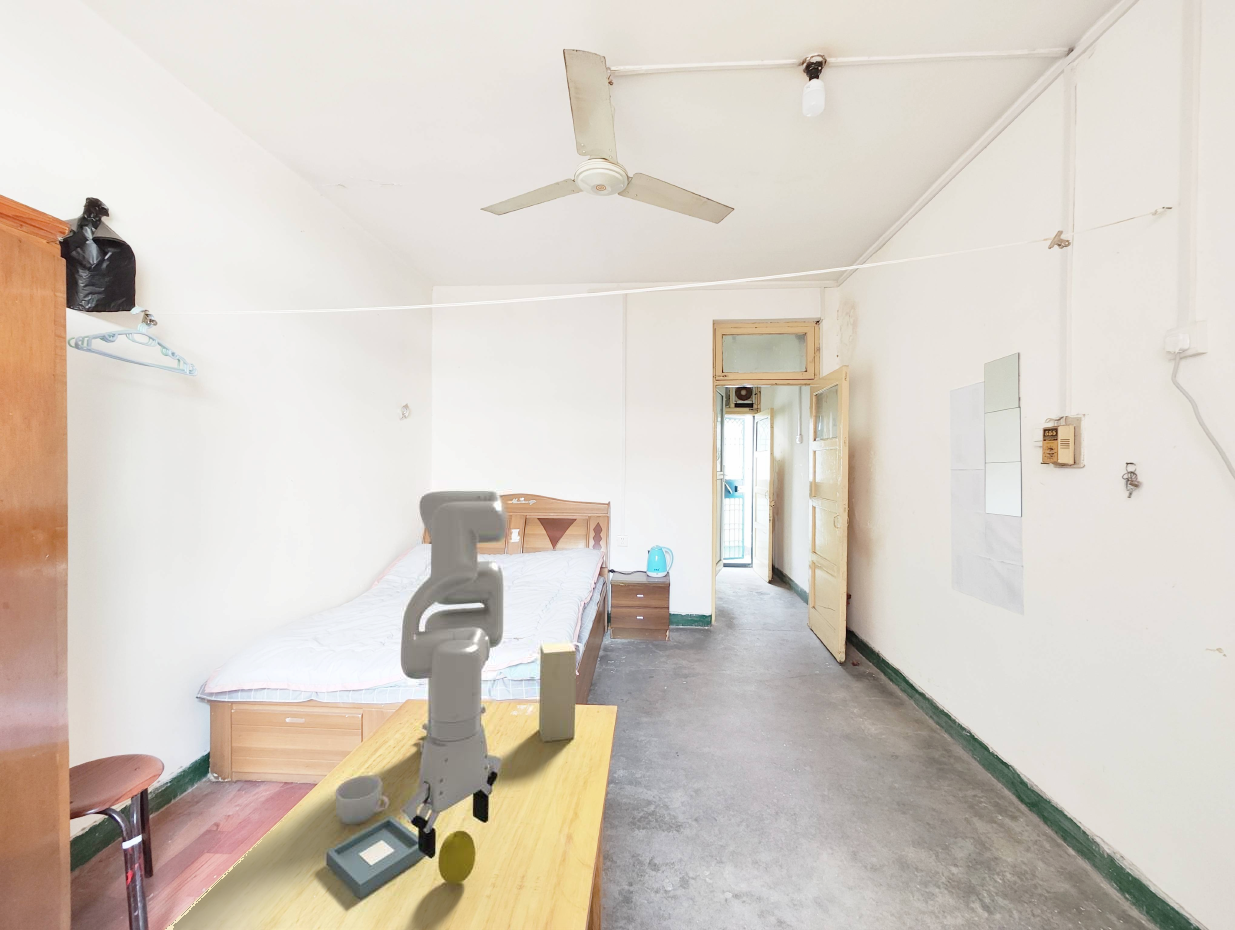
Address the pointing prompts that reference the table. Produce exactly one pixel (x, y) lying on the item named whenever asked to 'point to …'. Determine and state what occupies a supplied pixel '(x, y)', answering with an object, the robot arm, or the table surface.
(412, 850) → the tray
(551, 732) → the beige rectangular block
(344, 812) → the teacup
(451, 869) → the lemon
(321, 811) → the table surface
